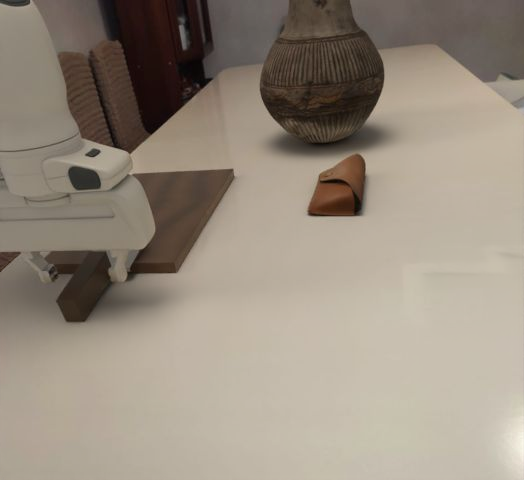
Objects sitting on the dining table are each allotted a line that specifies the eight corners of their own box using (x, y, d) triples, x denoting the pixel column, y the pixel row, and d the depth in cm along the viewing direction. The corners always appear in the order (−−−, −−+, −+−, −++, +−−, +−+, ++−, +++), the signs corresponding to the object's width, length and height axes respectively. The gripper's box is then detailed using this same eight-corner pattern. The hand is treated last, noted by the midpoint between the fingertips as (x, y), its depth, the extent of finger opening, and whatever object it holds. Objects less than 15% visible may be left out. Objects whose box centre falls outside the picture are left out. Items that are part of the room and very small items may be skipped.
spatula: (102, 321, 62) (92, 300, 60) (48, 321, 64) (37, 300, 62) (149, 237, 75) (142, 217, 73) (103, 238, 76) (95, 219, 74)
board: (40, 273, 74) (37, 264, 74) (134, 181, 103) (132, 173, 102) (176, 272, 71) (174, 262, 70) (234, 176, 99) (233, 168, 99)
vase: (286, 125, 125) (275, -31, 108) (391, 124, 117) (398, -45, 99) (248, 159, 107) (227, -21, 90) (370, 160, 99) (373, -38, 81)
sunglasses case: (316, 173, 95) (335, 138, 90) (351, 191, 95) (371, 158, 91) (305, 214, 81) (326, 175, 76) (345, 235, 81) (369, 198, 77)
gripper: (-57, 181, 56) (-5, 293, 65) (122, 172, 52) (153, 293, 61) (-22, 162, 61) (22, 268, 70) (144, 152, 57) (170, 266, 66)
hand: (84, 280), depth 65 cm, fingers open, 8 cm apart
